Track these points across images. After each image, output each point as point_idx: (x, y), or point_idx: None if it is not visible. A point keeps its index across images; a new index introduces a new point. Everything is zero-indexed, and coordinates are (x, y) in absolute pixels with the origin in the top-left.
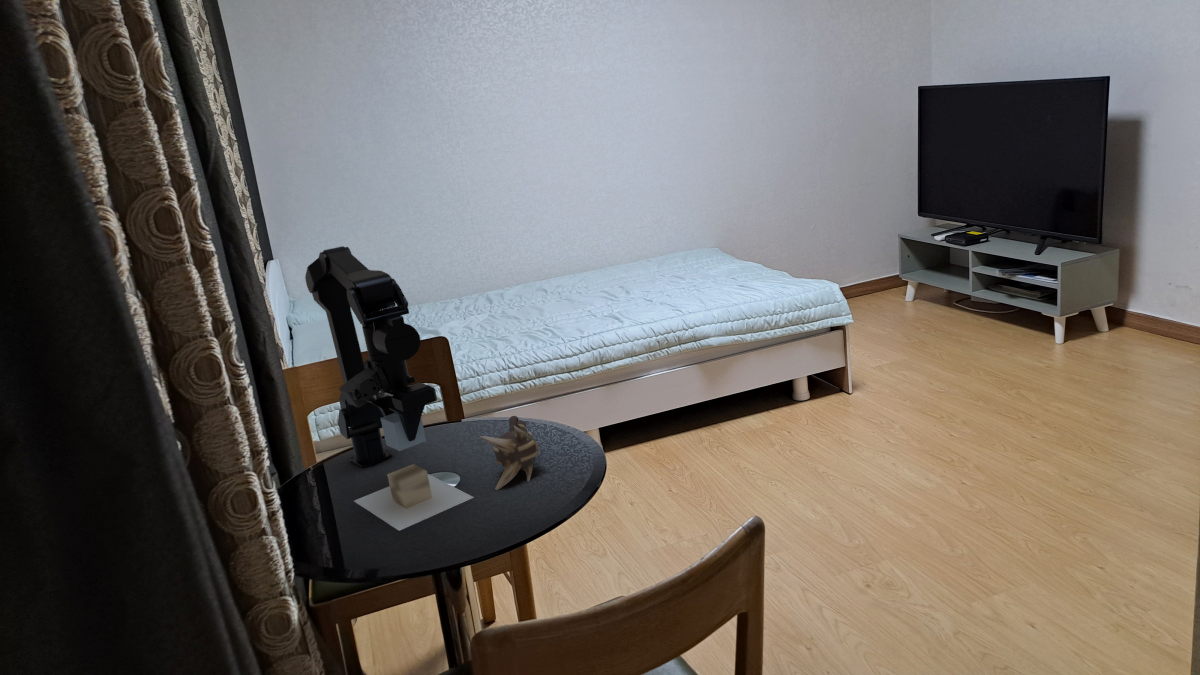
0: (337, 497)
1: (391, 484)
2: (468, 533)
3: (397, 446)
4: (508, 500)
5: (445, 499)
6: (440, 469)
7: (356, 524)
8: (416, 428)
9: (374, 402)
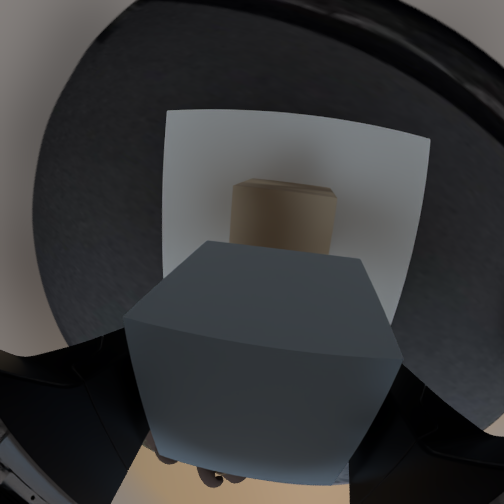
0: (486, 145)
1: (317, 191)
2: (74, 198)
3: (218, 249)
4: (118, 310)
5: None
6: None
7: (307, 70)
8: None
9: (491, 483)
